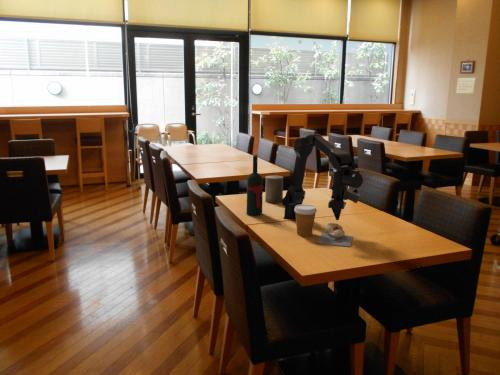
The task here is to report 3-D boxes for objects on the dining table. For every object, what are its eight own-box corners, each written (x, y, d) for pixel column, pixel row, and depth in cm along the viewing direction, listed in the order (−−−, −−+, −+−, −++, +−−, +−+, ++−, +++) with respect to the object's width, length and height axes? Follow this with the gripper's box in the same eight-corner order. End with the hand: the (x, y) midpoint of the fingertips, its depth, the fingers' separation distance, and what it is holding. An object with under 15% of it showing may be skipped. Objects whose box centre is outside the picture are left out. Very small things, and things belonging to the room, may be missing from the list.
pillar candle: (283, 203, 238) (284, 176, 235) (265, 203, 239) (265, 175, 236) (282, 199, 248) (282, 173, 245) (264, 199, 248) (265, 172, 245)
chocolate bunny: (338, 238, 189) (338, 247, 179) (323, 228, 189) (321, 236, 180) (345, 228, 187) (345, 236, 178) (330, 218, 187) (329, 226, 178)
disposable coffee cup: (301, 238, 183) (302, 210, 180) (289, 232, 191) (290, 205, 188) (320, 235, 187) (321, 208, 184) (307, 229, 195) (308, 203, 192)
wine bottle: (251, 218, 211) (252, 155, 204) (244, 212, 220) (244, 152, 214) (266, 216, 214) (267, 155, 207) (258, 211, 223) (259, 152, 216)
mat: (317, 243, 177) (317, 242, 177) (321, 233, 189) (321, 232, 189) (350, 247, 174) (350, 246, 173) (352, 237, 186) (352, 236, 186)
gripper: (358, 189, 169) (355, 228, 173) (361, 180, 187) (358, 215, 190) (328, 187, 172) (326, 225, 176) (334, 178, 190) (332, 213, 193)
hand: (337, 220), depth 184 cm, fingers closed
